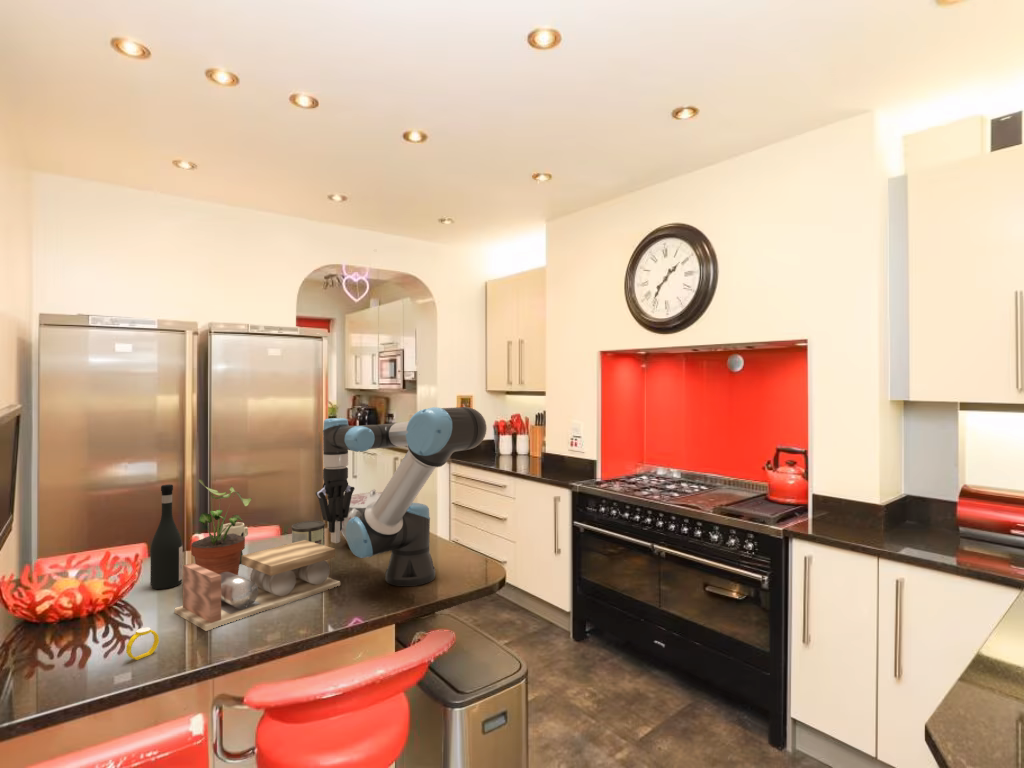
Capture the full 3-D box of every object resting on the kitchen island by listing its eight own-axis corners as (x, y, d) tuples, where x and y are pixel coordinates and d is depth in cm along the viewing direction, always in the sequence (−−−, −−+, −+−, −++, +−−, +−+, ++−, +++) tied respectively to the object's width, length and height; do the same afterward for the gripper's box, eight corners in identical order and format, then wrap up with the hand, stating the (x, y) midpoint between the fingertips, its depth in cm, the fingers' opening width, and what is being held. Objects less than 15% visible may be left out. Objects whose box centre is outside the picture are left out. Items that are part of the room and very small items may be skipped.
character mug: (224, 569, 176) (224, 529, 176) (210, 566, 179) (210, 527, 179) (254, 560, 185) (254, 522, 185) (241, 557, 189) (241, 520, 189)
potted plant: (218, 597, 152) (218, 473, 152) (179, 591, 157) (179, 470, 158) (261, 579, 167) (262, 465, 167) (224, 573, 172) (224, 463, 172)
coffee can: (300, 561, 184) (301, 520, 184) (330, 562, 183) (330, 520, 183) (285, 571, 174) (285, 527, 174) (316, 572, 173) (316, 528, 173)
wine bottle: (175, 578, 167) (175, 481, 168) (187, 584, 163) (187, 484, 163) (145, 586, 161) (146, 485, 161) (157, 592, 156) (157, 488, 156)
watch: (153, 651, 122) (155, 623, 122) (159, 654, 120) (162, 626, 121) (123, 660, 116) (125, 632, 117) (130, 664, 115) (132, 635, 115)
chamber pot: (389, 530, 225) (389, 480, 225) (422, 545, 204) (422, 489, 204) (322, 542, 207) (322, 488, 207) (351, 560, 186) (351, 499, 186)
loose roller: (258, 603, 144) (258, 577, 144) (231, 612, 139) (231, 585, 139) (236, 593, 151) (236, 568, 151) (210, 601, 146) (209, 576, 146)
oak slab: (335, 557, 161) (335, 548, 161) (271, 575, 145) (271, 566, 145) (304, 547, 171) (304, 540, 171) (241, 564, 155) (241, 555, 155)
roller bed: (340, 585, 161) (340, 544, 161) (205, 631, 131) (206, 580, 131) (305, 573, 172) (306, 535, 172) (174, 612, 142) (174, 566, 142)
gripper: (345, 463, 178) (345, 535, 178) (310, 468, 168) (310, 544, 168) (360, 465, 174) (360, 539, 173) (324, 470, 163) (324, 549, 163)
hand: (335, 541), depth 170 cm, fingers closed
